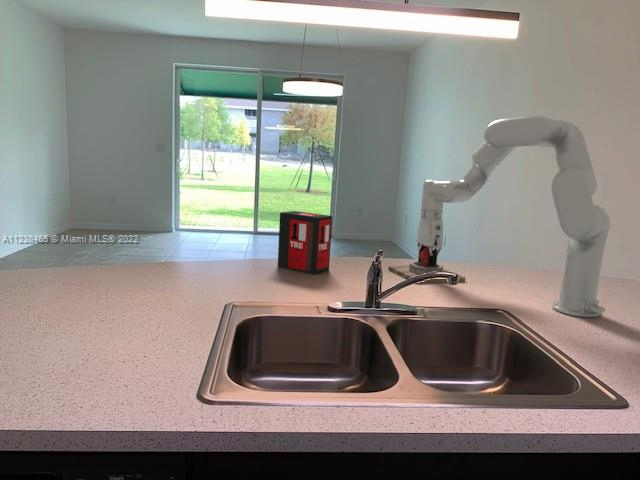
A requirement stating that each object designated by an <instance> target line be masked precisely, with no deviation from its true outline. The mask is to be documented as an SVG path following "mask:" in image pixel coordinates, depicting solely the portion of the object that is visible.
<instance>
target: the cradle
mask: <svg viewBox="0 0 640 480" xmlns="http://www.w3.org/2000/svg"><path fill="white" fill-rule="evenodd" d="M387 270H388V271H390V272H391V273H394V274H396V275H398V276H400V277H401V278H404V279H406V280H407V278H410V277H413V276H417V275H421V274H424V273H428V272H433V271H450V270H448V269H445V268H444V265H442V264H440V263H438V262H437V263H436V266H429V267H426V266H425V265H424V264H423V263H422V262H418V260H417V261H411V262H410V263H409V265H408V264H407V265H388V268H387ZM450 272H452V271H450ZM458 275H459V282H458V283H462V282H463V283H465V282H466V277H465V276H463V275H460V274H458ZM436 283H437V284H440V283H448V282H447V279H430V280H426V281H424V282H420V283H419V284H436ZM416 284H418V283H416Z"/></svg>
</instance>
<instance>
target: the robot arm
mask: <svg viewBox="0 0 640 480" xmlns="http://www.w3.org/2000/svg"><path fill="white" fill-rule="evenodd" d="M483 138H484V141H483V143H482V144H480V145H479V147H477V148H476V150H475V151H474V152H473V153H472V155H471V159H472V161H473V162H472V166H471V168H470V169H469V171H468V172H467V173H466V174H465V175H464V176H463V177H462V178H461V179H460V180H446V181H445V180H439V179H438V180H437V179H426V180H424V182H423V185H422V196H421V197H422V198H421V210H420V216H419V217H420V220H419V225H418V229H417V238H416V242H417V243H416V244H417V247H418V249H417V250H418V260H417V261H418V262H421V261H420V253H421V252H422V250H423V249H425V248H426V247H429V250H430V255H429V257H428V266H436V263H437V264H438V256H439V253H440V252H441V250H442V249H443V241H444V223H443V212H444V203H447V204H454V203H465V202H467V201H469V200H470V199H472V198H473V197H474V196H475V195H476V194H477V193H478V192H479V191H480V190H481V189H483V187H484V186H485V184H486V183H487V181H488V180H489V178H490V176H491V174H492V172H493V171H494V170H495V169H496V168H497V167H498V166H499V165H500V164H501V163H502V162H503V161H504V160H505V159H506V158H507V157H508V156H509V155H510V154H511V153H512V152H513V151H514V150H516V148H517V147H542V148H543V147H544V148H553V149H554V151H555V161H556V164H557V166H558V167H557V168H558V172H557V173H556V174H555V175H554V177H553V178H552V181H551V189H550V190H551V194H552V199H553V200H552V201H553V204H554V208H555V211H556V214H557V218H558V223H559V227H560V228H561V230H562V232H563V233H564V235H565V236H566V237H567V238H568V240H567V241H568V242H567V245H566V251H565V257H564V264H563V271H562V278H561V285H560V292H559V298H558V301H555V302H552V309H554V310H555V311H557V312H559V313H562V314H565V315H569V316H573V317H578V318H579V317H581V318H597V317H599V316H601V315H603V313H605V311H606V308H605V307H603V306H600V305H599V303H600V300H599V299H597V295H598V289H599V282H600V277H601V270H602V263H603V259H604V258H603V257H604V252H605V246H606V242H607V239H608V235H609V230H610V226H611V224H610V223H611V222H610V221H611V220H610V216H609V214H608V213H607V211H606V210H605V209H604V207H602V206H600V205H597V204H594V202H593V198H592V197H593V196H594V195H595V193H596V192H597V189H598V181H597V177H596V174H595V171H594V167H593V164H592V160H591V157H590V153H589V150H588V146H587V142H586V140H585V137H584V134H583V132H582V131H581V129H580V128H579V127H578V126H577V125H575V124H574V123H572V122H571V121H566V120H562V119H556V118H552V117H547V116H542V115H530V116H521V117H520V116H518V117H512V118H503V119H497V120H494V121H492V122H491V123H490V124H488V125H487V127H486V128H485V129H484V134H483Z"/></svg>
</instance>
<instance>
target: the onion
mask: <svg viewBox="0 0 640 480" xmlns="http://www.w3.org/2000/svg"><path fill="white" fill-rule="evenodd" d="M429 255H430V250H429V247H426V248H425V249H423V250H422V252H421V253H420V261H421V262H422V263H423V264H424V265H425V266H426V267H429V266H428V257H429Z"/></svg>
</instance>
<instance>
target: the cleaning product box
mask: <svg viewBox="0 0 640 480" xmlns="http://www.w3.org/2000/svg"><path fill="white" fill-rule="evenodd" d="M332 224H333V215H329V214H320V213H313V212H305V211H296V210H291V211H283V212H279V228H278V229H279V230H278V253H277V268H281V269H285V270H291V271H296V272H300V273H305V274H308V275H314V276H316V275H319V274H323V273H326V272H329V271H330V262H331V261H330V260H331V259H330V257H331V243H332V227H333V225H332Z"/></svg>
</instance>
